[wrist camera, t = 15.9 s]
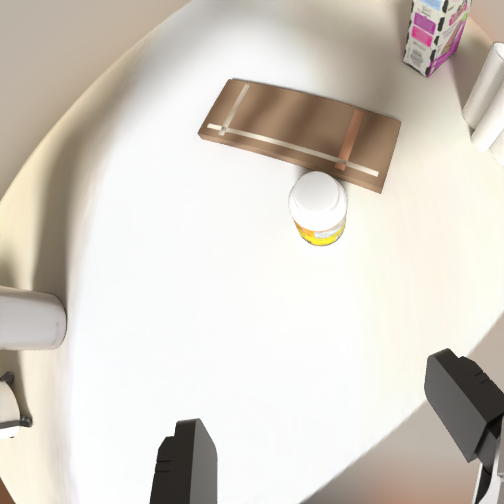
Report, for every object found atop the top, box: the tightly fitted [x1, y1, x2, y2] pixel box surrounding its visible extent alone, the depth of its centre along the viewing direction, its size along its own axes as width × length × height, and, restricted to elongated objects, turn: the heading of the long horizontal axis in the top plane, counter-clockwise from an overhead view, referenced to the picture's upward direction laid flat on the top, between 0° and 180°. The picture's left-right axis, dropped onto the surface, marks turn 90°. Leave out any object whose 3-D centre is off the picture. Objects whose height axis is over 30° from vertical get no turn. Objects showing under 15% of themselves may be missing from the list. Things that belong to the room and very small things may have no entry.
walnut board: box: [198, 79, 401, 194], centre depth 39 cm, size 25×10×2 cm, turn 66°
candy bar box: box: [403, 0, 472, 78], centre depth 29 cm, size 11×5×16 cm, turn 132°
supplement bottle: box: [288, 171, 347, 246], centre depth 32 cm, size 6×6×10 cm
